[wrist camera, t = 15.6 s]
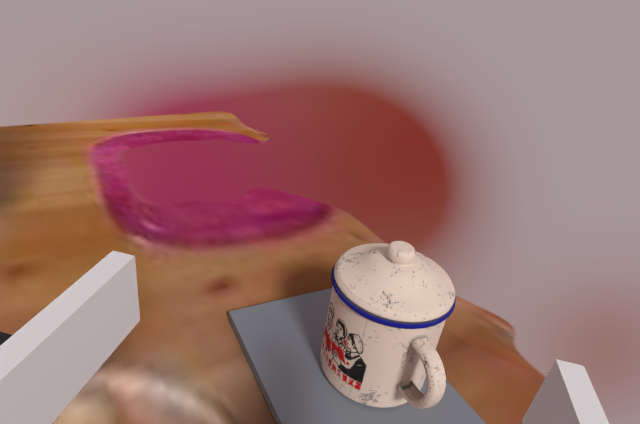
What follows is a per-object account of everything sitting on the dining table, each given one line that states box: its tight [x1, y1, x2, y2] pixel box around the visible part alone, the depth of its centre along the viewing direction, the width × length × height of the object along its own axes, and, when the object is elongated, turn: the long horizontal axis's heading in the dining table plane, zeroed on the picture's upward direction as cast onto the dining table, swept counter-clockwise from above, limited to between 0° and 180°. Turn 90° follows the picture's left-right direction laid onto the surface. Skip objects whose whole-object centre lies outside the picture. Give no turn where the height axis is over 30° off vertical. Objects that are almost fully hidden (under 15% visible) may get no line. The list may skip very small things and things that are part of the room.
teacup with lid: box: [320, 241, 455, 409], centre depth 32 cm, size 12×9×12 cm
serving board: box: [229, 288, 486, 424], centre depth 35 cm, size 20×14×1 cm
